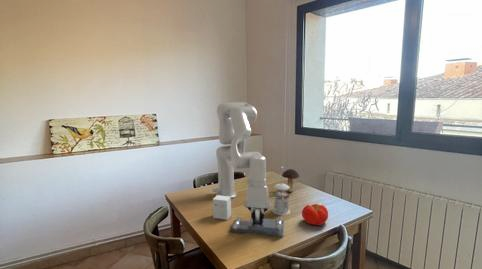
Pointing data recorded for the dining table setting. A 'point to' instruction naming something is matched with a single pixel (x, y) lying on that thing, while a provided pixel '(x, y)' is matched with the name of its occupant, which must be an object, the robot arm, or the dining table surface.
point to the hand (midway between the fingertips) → (257, 219)
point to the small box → (222, 207)
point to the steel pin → (257, 216)
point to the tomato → (315, 214)
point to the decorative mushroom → (290, 178)
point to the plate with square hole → (259, 227)
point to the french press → (281, 204)
